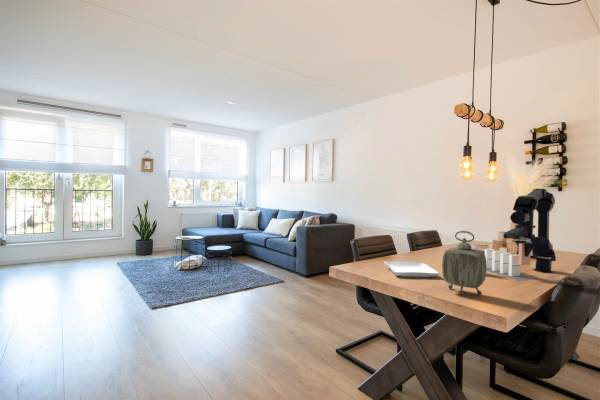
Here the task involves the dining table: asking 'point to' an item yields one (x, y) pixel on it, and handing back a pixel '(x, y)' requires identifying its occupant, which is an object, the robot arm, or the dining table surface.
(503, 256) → the domino
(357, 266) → the dining table surface
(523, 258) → the domino
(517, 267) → the domino
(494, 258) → the domino
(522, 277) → the mat
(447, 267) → the tabletop clock
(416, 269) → the salad plate
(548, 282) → the dining table surface
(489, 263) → the domino
